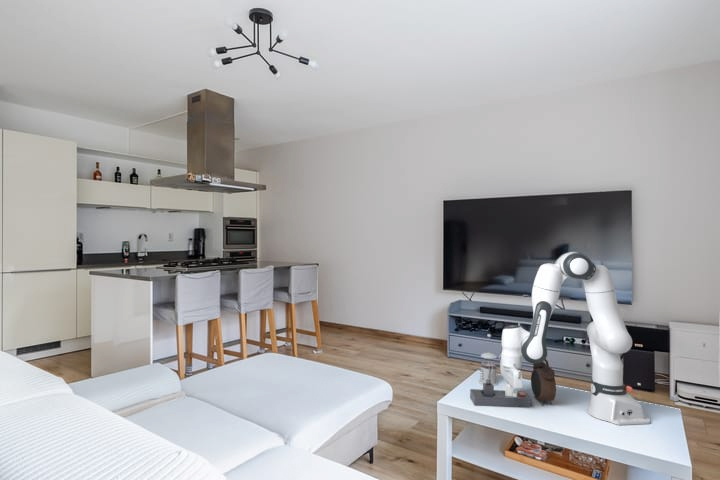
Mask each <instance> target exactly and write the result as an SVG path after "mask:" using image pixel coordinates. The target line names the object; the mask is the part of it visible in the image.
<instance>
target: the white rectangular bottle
mask: <svg viewBox="0 0 720 480" xmlns="http://www.w3.org/2000/svg"><path fill="white" fill-rule="evenodd" d="M504 386H505V387H504V391H505V395H506V396H512V391H513V389H512V386H511V385H510V384H509V383H508V384H505V383H504Z"/></svg>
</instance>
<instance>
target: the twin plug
mask: <svg viewBox="0 0 720 480" xmlns="http://www.w3.org/2000/svg"><path fill="white" fill-rule="evenodd" d="M482 390H483V395H494V390H495V386H493V384H491V380H489V379H487V380H486V383H483V385H482Z"/></svg>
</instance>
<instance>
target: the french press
mask: <svg viewBox="0 0 720 480" xmlns="http://www.w3.org/2000/svg"><path fill="white" fill-rule="evenodd" d="M486 336H487V337H488V338H491V337H492V335H491V333H488V334H487V335H486ZM480 357H481V358H483V359H486V360H487V361H482V362H481V365H480V375H479V376H480V379H479V380H478V384H480V385H481V386H483V383H486V380H487V379H489V380H491V384H493V386H494V387H496V386H498V385H499V383H498V382H497V366H496V363H494V362H493V361H490V360H495V359H497V358H498V357H497V355H496V354H494V353H491V352H483V353H481V354H480Z"/></svg>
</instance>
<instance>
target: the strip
mask: <svg viewBox="0 0 720 480" xmlns="http://www.w3.org/2000/svg"><path fill="white" fill-rule="evenodd" d="M469 392H470V393H469V396H470V397H469V398H470V400H471V402H472V404H473V405H474V407H475V406H476V407H496V408H499V407H500V408H520V409H521V408H525V409H531V398H530V396H528V395H527V394H526V393H525V391H524V390H522V391H521V390H518V392H517V397H513V396H506V395H505V390H501V389H500V390H499V389H498V390H497V389H496V390H495V389H494V395H483V389H476V388H475V389H474V388H471V389H470V391H469Z"/></svg>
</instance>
